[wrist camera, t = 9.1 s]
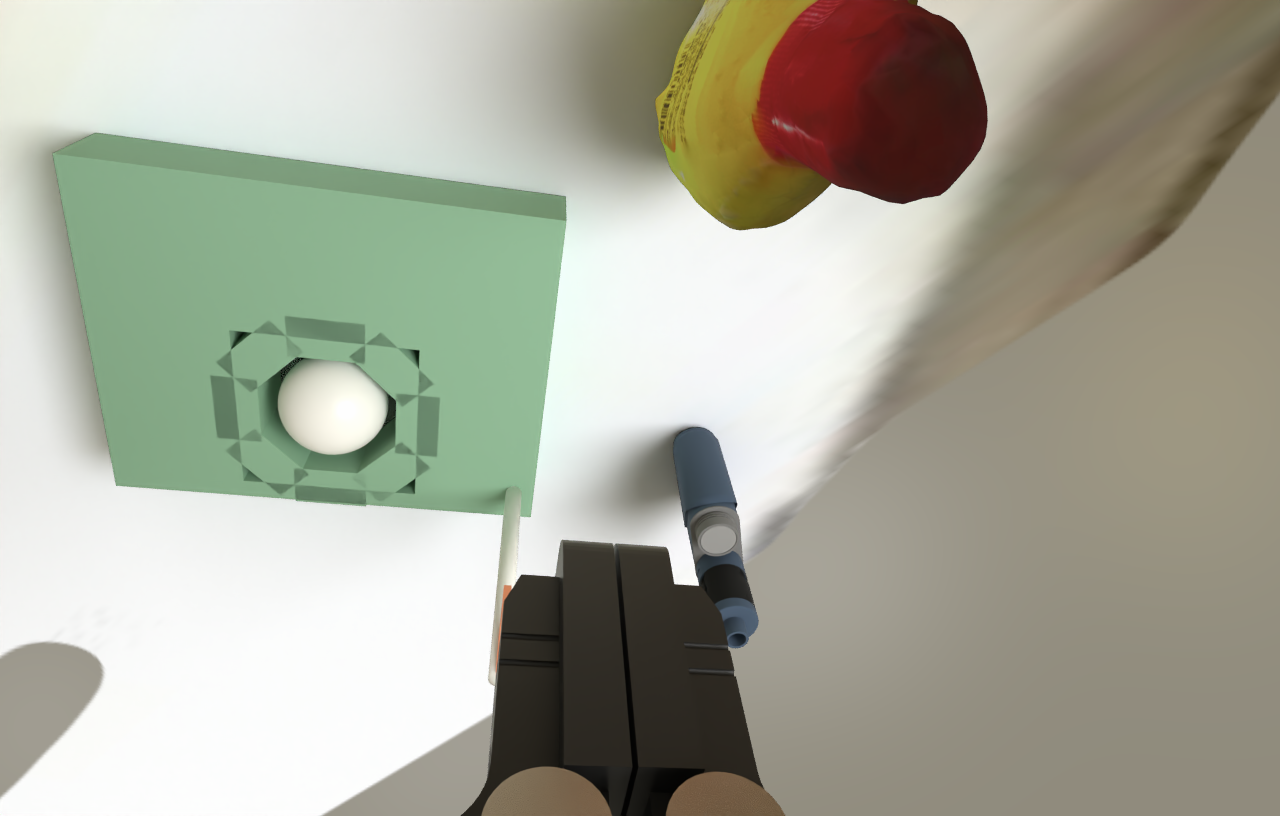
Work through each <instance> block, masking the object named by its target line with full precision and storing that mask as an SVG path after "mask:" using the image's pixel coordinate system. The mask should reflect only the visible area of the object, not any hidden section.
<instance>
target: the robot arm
mask: <svg viewBox="0 0 1280 816" xmlns="http://www.w3.org/2000/svg"><path fill="white" fill-rule="evenodd" d="M461 816H785V814H784V813H783V811H782V809H781V807H780V806H779V805H778V803H777V802H776V801H775V800H774V798H773V797H772V796H771V795H770V794H769V793H767V792H766V791H765V790H764V788H763V785H762V783H761V781H760V778H759V775H758V772H757V767H756V763H755V758H754V754H753V750H752V745H751V741H750V736H749V732H748V728H747V723H746V719H745V715H744V710H743V706H742V702H741V697H740V693H739V688H738V684H737V680H736V677H735V676H734V667H733V663H732V658H731V653H730V651H728V640H727V636H726V632H725V627H724V623H723V618H722V614H721V613H720V611H719V610H718V608H717V607H716V606H715V604H714V603H713V602H712V600H711V599H710V598H709V596H708V595H707V594H706V592H705V591H704V589H703V588H702V587H701V586H691V585H676V584H674V580H673V574H672V568H671V563H670V557H669V552H668V549H667V548H666V547H657V546H643V545H630V544H615V546H613V544H612V543H599V542H585V541H571V540H561V543H560V548H559V555H558V562H557V568H556V575H555V577H550V576H535V575H521V576H520V578H519V579H518V581H517V582H516V584H515V585H514V587H513V588H512V590H511V591H510V593H509V594H508V596H507V597H506V599H505V600H504V605H503V614H502V623H501V633H500V642H499V651H498V661H497V670H496V680H495V692H494V703H493V716H492V728H491V740H490V751H489V763H488V774H487V781H486V784H485V786H484V788H483V790H482V791H481V793H480V795H479V797H478V798H477V799H476V800H475V802H474V803H473V804H472V805H471V806H470V807H469V808H468V809H467V810H466V811H465V812H464V813H463V814H462V815H461Z"/></svg>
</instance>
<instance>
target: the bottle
mask: <svg viewBox="0 0 1280 816" xmlns="http://www.w3.org/2000/svg"><path fill="white" fill-rule="evenodd" d="M917 2H918V0H705V2H704V4H703V7H702V9H701V11H700V13H699V14H698V16H697V18H696V20H695V21H694V23H693V25H692V26H691V28H690V30H689V31H688V33H687V34H686V36H685V38H684V40H683V41H682V43H681V46H680V48H679V50H678V53H677V56H676V60H675V63H674V68H673V73H672V77H671V80H670V82H669V85H668V86H667V87H666V89H665V90H664V91H663V92H662V93H661V94H660V95H659V96H658V97H657V98H656V99H655V107H656V112H657V117H658V121H659V127H658V130H659V137H660V140H661V142H662V144H663V146H664V149H665V152H666V156H667V159H668V162H669V165H670V168H671V170H672V171H673V173H674V174H675V175H676V177H677V178H678V179H679V181H680V182H681V183H682V184H683V185H684V186H685V187H686V188H687V190H688V191H689V192H690V194H691V195H692V197H693V198H694V199H695V201H696V202H697V203H698V204H699V205H700V206H701V207H702V208H703V209H705V210H706V211H707V212H708V213H709V214H711V215H712V216H713V217H714V218H716V219H717V220H718V221H720V222H721V223H723V224H724V225H726V226H728V227H729V228H732V229H735V230H748V229H754V228H767V227H771V226H774V225H777V224H780V223H782V222H785V221H786V220H788V219H790V218H791V217H793V216H794V215H795V214H797V213H798V212H799V211H801V210H802V209H803V208H805V207H806V206H807V205H808V204H810V203H811V202H812V201H814V200H815V199H816V198H817V197H818V196H819V195H820V194H821V193H823V192H824V191H825V190H826V189H827V188H828V187H829V186H830V185H831V183H833V184H835V185H836V186H838V187H842V188H846V189H851V190H856V191H860V192H862V193H865V194H867V195H870V196H873V197H875V198H878V199H881V200H884V201H887V202H891V203H899V204H905V203H909V202H912V201H916V200H919V199H922V198H927V197H934V196H940V195H941V194H943V193H944V192H945V191H946V190H948V189H949V188H950V186H951V185H952V184H953V183H954V182H955V181H956V180H957V179H958V178H959V177H960V175H961V174H962V173H963V172H964V171H965V170H966V168H967V167H968V166H969V165H970V164H971V163H972V161H973V160H974V158H975V157H976V155H977V154H978V152H979V151H980V149H981V147H982V144H983V142H984V139H985V137H986V129H987V121H988V120H987V105H986V100H985V95H984V92H983V88H982V85H981V82H980V79H979V76H978V73H977V70H976V66H975V63H974V61H973V58H972V55H971V52H970V49H969V47H968V44H967V42H966V40H965V39H964V37H963V35H962V34H961V33H960V31H959V30H958V29H957V28H956V26H955V25H954V24H953V23H952V22H950V21H949V20H947V19H945V18H943V17H942V16H939V15H935V14H932V13H930V12H928V11H927V10H925V9H924V8H922V7H920V6H917Z"/></svg>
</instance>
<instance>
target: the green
mask: <svg viewBox="0 0 1280 816" xmlns="http://www.w3.org/2000/svg"><path fill="white" fill-rule="evenodd" d="M52 154H53V159H54V164H55V169H56V174H57V180H58V185H59V190H60V195H61V201H62V206H63V211H64V216H65V221H66V227H67V232H68V237H69V242H70V248H71V253H72V258H73V263H74V268H75V274H76V279H77V284H78V289H79V294H80V300H81V305H82V310H83V315H84V321H85V326H86V331H87V336H88V341H89V347H90V352H91V357H92V362H93V368H94V373H95V378H96V383H97V388H98V394H99V399H100V404H101V409H102V414H103V420H104V425H105V430H106V435H107V441H108V446H109V451H110V456H111V461H112V467H113V472H114V477H115V482H116V486H127V487H140V488H154V489H167V490H180V491H193V492H206V493H219V494H233V495H246V496H259V497H272V498H285V499H296V501H304V502H317V503H330V504H343V505H356V506H366V505H377V506H390V507H403V508H417V509H430V510H443V511H456V512H469V513H482V514H495V515H504V517H503V527H502V538H501V548H500V559H499V570H498V580H497V591H496V602H495V612H494V623H493V634H492V644H491V655H490V665H489V676H488V681H489V683H490V684H492V685H494V686H495V680H496V670H497V661H498V651H499V642H500V633H501V623H502V614H503V605H504V600H505V599H506V597H507V596H508V594H509V593H510V591H511V590H512V588H513V587H514V585H515V584H516V570H517V555H518V540H519V525H520V516H522V517H531V510H532V501H533V493H534V485H535V476H536V468H537V460H538V452H539V443H540V435H541V427H542V419H543V410H544V402H545V394H546V385H547V377H548V369H549V361H550V352H551V344H552V336H553V328H554V319H555V311H556V303H557V294H558V286H559V278H560V270H561V261H562V253H563V245H564V236H565V228H566V197H564V196H557V195H550V194H542V193H535V192H528V191H520V190H513V189H506V188H498V187H491V186H484V185H476V184H469V183H461V182H454V181H447V180H439V179H432V178H425V177H417V176H410V175H403V174H395V173H388V172H381V171H373V170H366V169H358V168H351V167H344V166H336V165H329V164H322V163H314V162H307V161H300V160H292V159H285V158H278V157H270V156H263V155H256V154H248V153H241V152H233V151H226V150H219V149H211V148H204V147H197V146H189V145H182V144H175V143H167V142H160V141H153V140H145V139H138V138H130V137H123V136H116V135H108V134H101V133H94V134H92V135H90V136H88V137H86V138H84V139H82V140H80V141H78V142H75V143H73V144H71V145H69V146H67V147H65V148H63V149H61V150H59V151H57V152H55V153H52ZM296 357H301V358H311V359H321V360H331V361H341V362H351V363H356V364H357V365H358V366H360V367H361V368H362V369H363V370H364V371H365V372H366V373H367V374H368V375H369V376H370V377H371V378H372V379H373V380H374V381H375V382H377V383H378V384H379V385H380V386H381V387H382V388H383V389H384V390H385V391H386V392H387V393H388V394H389V395H390V396H391V397H392V398H394V399H395V400H396V417H395V418H394V419H392V420H391V421H390V422H388V423H387V424H386V425H384V426H383V427H382V428H381V430H380V431H379V432H378V434H377V435H376V436H375V437H374V438H373V439H372V440H371V441H370V442H369V443H368V444H366V445H365V446H363V447H361V448H359V449H357V450H355V451H352V452H349V453H345V454H338V455H327V454H321V453H317V452H314V451H311V450H309V449H307V448H305V447H303V446H302V445H300V444H299V443H298V442H296V441H295V440H294V439H293V438H292V437H291V436H290V435H289V433H288V432H287V431H286V429H285V427H284V426H283V424H282V421H281V419H280V416H279V411H278V394H279V390H280V387H281V369H282V368H283V367H285V366H286V365H287V364H289V363H290V362H291V361H292V360H294V359H295V358H296Z"/></svg>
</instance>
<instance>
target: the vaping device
mask: <svg viewBox="0 0 1280 816" xmlns="http://www.w3.org/2000/svg"><path fill="white" fill-rule="evenodd" d="M673 455H674V462H675V468H676V474H677V481H678V487H679V493H680V500H681V506H682V512H683V519H684V525H685V527H687V530H688V534H689V539H690V544H691V549H692V554H693V559H694V564H695V571H696V576H697V578H698V582H699V586H701V587H702V588H703V589H704V591H705V592H706V594H707V595H708V596H709V598H710V599H711V600H712V602H713V603H714V604H715V606H716V607H717V608H718V610H719V611H720V613H721V614H722V618H723V623H724V627H725V632H726V636H727V640H728V646H729V647H731V648H740V647H743V646H744V645H746V644H747V642H748V640H749V636H751V635H752V634H753V633H754V632H755V630H756V628H757V626H758V616H757V612H756V609H755V605H754V604H752V603H754V602H753V598H752V594H751V591H750V587H748V586H749V584H748V582H747V577H746V573H745V569H744V566H743V556H742V544H741V532H740V520H739V516H738V514H737V511H736V507H737V502H736V498H735V495H734V492H733V488H732V485H731V481H730V478H729V475H728V471H727V468H726V465H725V461H724V458H723V455H722V451H721V448H720V445H719V442H718V439H717V438H716V437H715V436H714V435H713V433H712V432H710V431H709V430H707V429H704V428H690V429H687V430H684V431H682V432H681V433H680V434H679V435H677V437H676V438H675V440H674V447H673ZM753 605H754V606H753Z"/></svg>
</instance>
